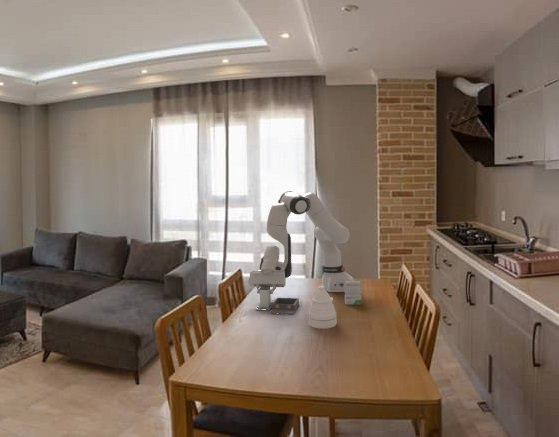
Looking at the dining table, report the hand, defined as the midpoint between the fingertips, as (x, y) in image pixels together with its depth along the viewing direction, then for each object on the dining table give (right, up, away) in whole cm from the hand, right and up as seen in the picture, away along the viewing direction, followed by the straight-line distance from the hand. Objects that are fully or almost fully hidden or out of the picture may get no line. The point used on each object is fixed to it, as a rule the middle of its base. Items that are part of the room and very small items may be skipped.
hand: (264, 293), depth 223 cm
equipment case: (+11, -8, -4) cm, 14 cm away
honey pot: (+28, -10, -27) cm, 40 cm away
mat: (0, -8, +1) cm, 8 cm away
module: (0, -7, +1) cm, 7 cm away
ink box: (+47, -6, +3) cm, 47 cm away
